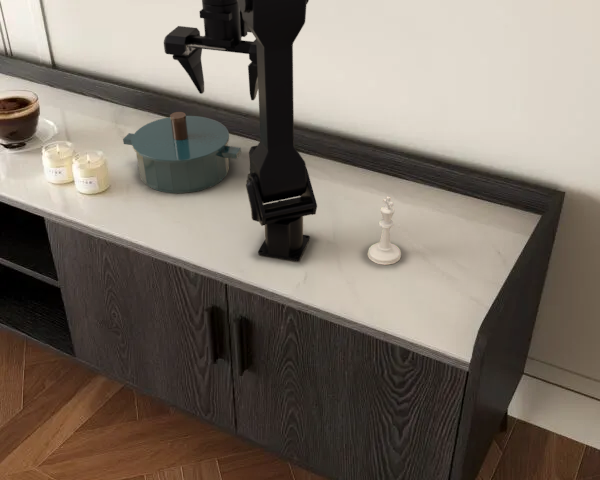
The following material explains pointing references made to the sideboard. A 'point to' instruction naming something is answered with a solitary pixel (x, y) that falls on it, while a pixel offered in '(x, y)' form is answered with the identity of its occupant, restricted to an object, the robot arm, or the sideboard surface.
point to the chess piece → (385, 239)
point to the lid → (180, 138)
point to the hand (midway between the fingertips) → (227, 96)
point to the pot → (185, 171)
